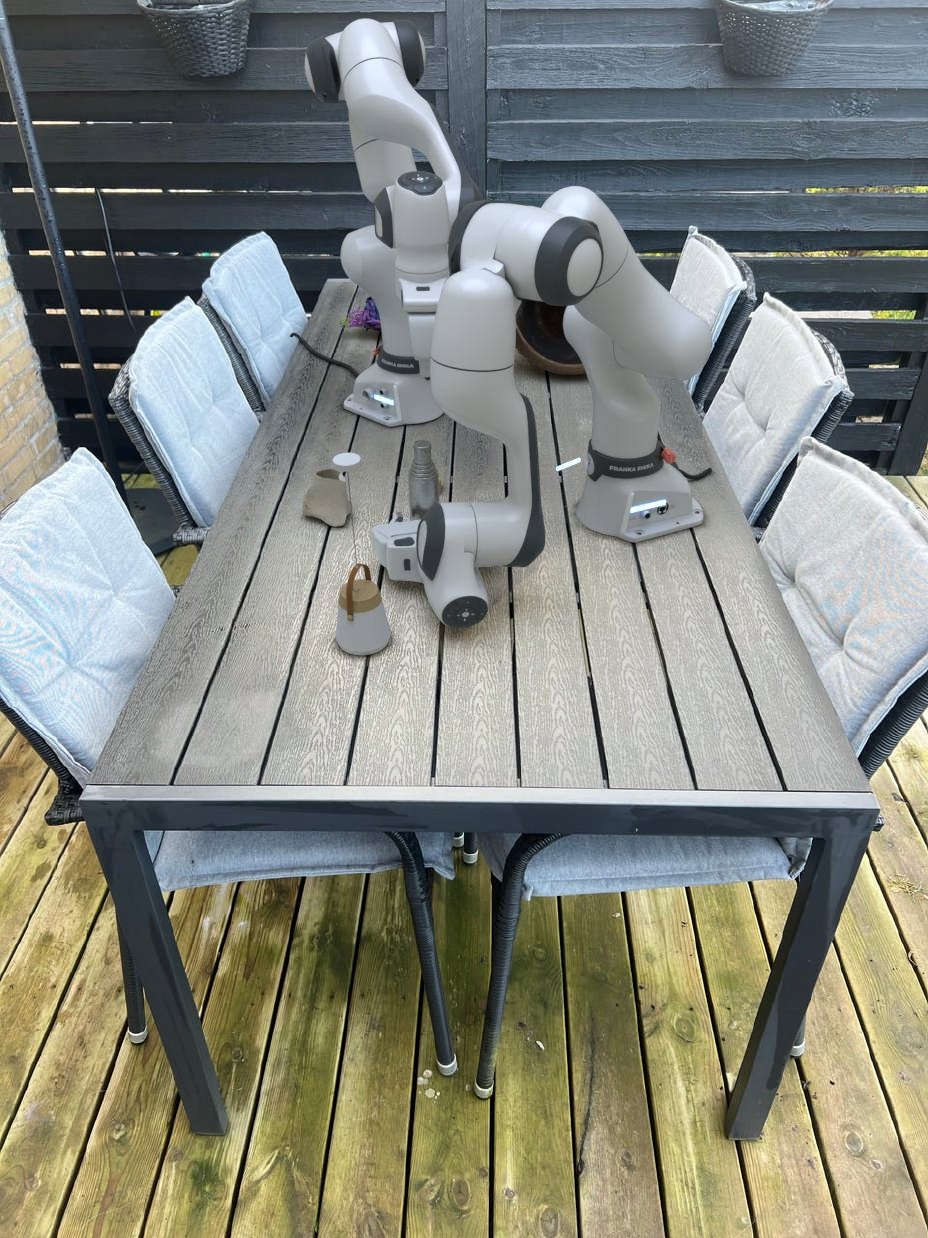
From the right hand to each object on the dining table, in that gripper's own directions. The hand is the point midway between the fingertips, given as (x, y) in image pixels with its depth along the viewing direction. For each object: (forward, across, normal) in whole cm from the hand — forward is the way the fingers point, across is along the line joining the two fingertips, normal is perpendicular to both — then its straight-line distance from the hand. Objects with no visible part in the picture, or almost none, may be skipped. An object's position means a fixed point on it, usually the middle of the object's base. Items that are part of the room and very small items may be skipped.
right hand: (424, 512), depth 158 cm
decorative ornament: (+98, -13, +6) cm, 99 cm away
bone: (+11, +16, +6) cm, 20 cm away
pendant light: (-25, +15, +6) cm, 29 cm away
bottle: (-1, 0, +6) cm, 6 cm away
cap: (+17, -4, +4) cm, 18 cm away
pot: (+72, -50, +6) cm, 88 cm away
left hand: (+17, -4, -19) cm, 26 cm away
